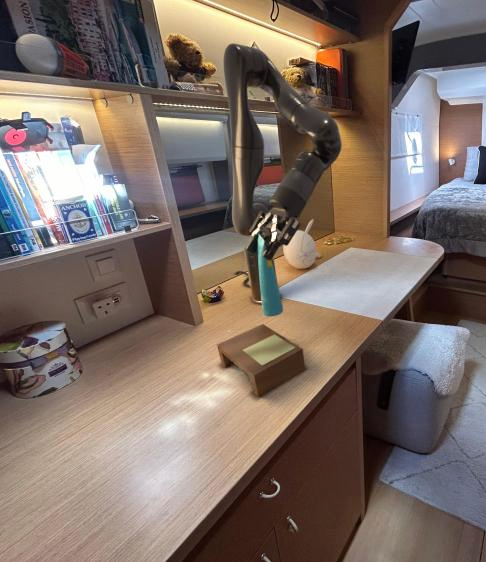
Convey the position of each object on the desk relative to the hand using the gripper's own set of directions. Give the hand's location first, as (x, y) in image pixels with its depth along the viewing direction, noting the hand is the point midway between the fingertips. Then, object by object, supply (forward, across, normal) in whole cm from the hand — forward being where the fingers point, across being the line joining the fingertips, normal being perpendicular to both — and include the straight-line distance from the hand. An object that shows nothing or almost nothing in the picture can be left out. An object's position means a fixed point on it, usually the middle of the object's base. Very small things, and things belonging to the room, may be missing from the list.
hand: (257, 255), depth 77 cm
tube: (+10, 0, +12) cm, 16 cm away
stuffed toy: (-14, -48, +54) cm, 74 cm away
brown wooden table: (+23, 0, +17) cm, 29 cm away
